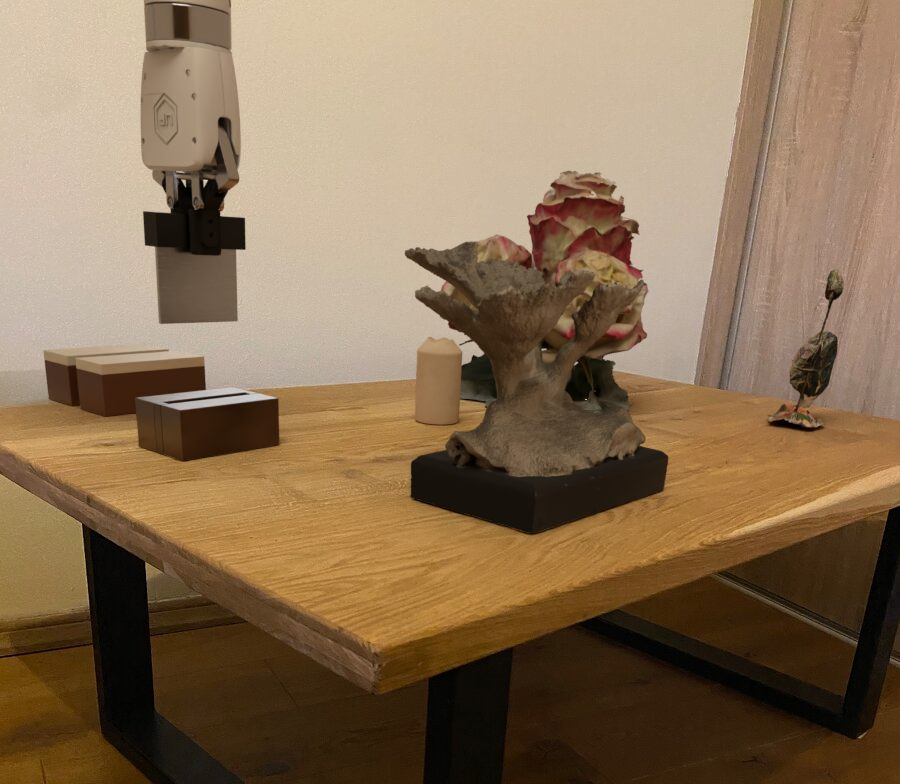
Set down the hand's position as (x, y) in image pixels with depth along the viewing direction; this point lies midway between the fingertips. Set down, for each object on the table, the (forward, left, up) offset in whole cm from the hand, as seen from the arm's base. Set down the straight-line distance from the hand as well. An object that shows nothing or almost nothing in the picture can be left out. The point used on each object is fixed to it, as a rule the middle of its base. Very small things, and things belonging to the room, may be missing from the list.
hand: (196, 252), depth 90 cm
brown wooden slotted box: (0, 0, -19) cm, 19 cm away
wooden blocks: (+6, +26, -19) cm, 33 cm away
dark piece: (0, 0, -7) cm, 7 cm away
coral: (+11, -31, -19) cm, 38 cm away
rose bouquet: (+53, -6, -19) cm, 57 cm away
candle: (+30, -5, -19) cm, 36 cm away
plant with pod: (+70, -35, -19) cm, 81 cm away
